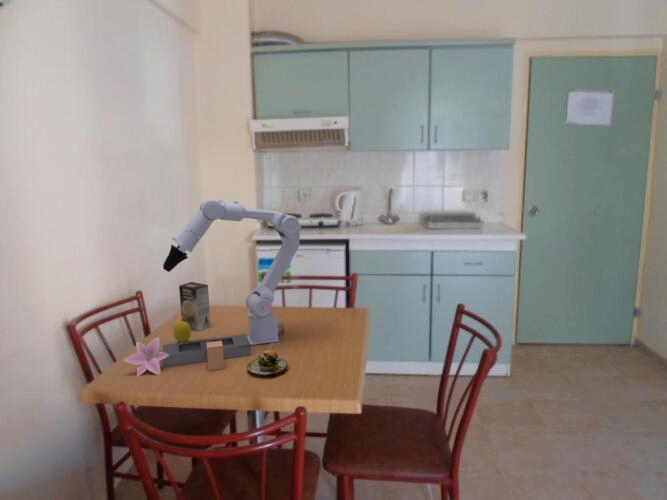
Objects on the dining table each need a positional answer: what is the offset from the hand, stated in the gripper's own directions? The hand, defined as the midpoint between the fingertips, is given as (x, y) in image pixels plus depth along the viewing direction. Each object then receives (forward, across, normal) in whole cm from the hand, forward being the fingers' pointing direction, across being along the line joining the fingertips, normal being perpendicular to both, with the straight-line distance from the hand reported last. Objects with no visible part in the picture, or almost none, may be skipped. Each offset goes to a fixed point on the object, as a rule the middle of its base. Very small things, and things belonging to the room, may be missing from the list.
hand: (165, 268), depth 150 cm
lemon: (+18, -13, +20) cm, 30 cm away
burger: (+6, +19, +39) cm, 44 cm away
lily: (+27, +7, +14) cm, 31 cm away
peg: (+15, +11, +28) cm, 33 cm away
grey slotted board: (+15, +1, +26) cm, 30 cm away
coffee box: (+14, -29, +24) cm, 40 cm away
